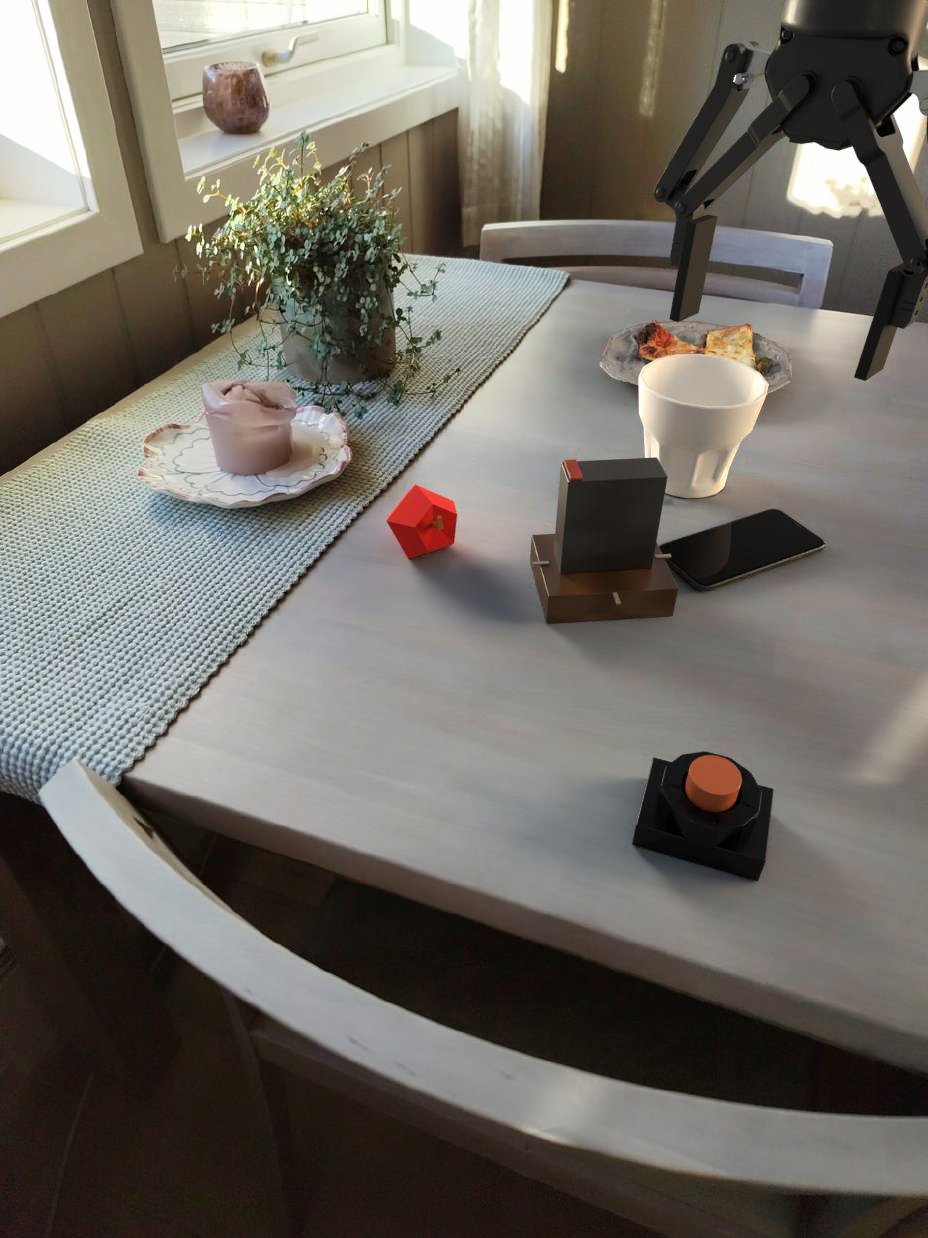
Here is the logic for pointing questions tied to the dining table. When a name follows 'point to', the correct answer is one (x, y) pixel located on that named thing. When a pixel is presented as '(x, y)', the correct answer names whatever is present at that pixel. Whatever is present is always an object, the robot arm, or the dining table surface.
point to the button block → (704, 821)
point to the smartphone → (740, 549)
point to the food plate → (694, 349)
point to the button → (713, 783)
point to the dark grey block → (608, 514)
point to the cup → (697, 418)
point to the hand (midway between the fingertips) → (770, 343)
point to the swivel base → (600, 588)
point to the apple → (423, 522)
